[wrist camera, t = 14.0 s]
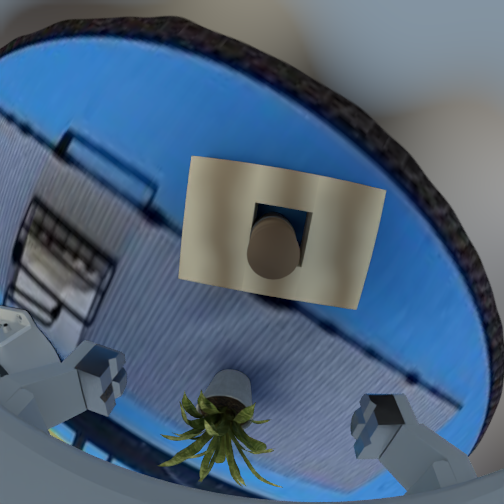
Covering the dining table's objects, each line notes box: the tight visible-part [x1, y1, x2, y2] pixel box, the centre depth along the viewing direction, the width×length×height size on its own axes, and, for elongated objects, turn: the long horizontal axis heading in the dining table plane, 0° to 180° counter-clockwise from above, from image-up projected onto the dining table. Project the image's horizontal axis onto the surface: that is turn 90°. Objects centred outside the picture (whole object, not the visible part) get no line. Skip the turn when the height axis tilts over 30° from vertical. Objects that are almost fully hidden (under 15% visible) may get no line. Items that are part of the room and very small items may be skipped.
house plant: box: [159, 369, 281, 487], centre depth 31 cm, size 14×14×16 cm
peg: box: [247, 212, 300, 280], centre depth 28 cm, size 4×4×10 cm
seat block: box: [178, 156, 386, 310], centre depth 30 cm, size 18×12×5 cm, turn 81°
